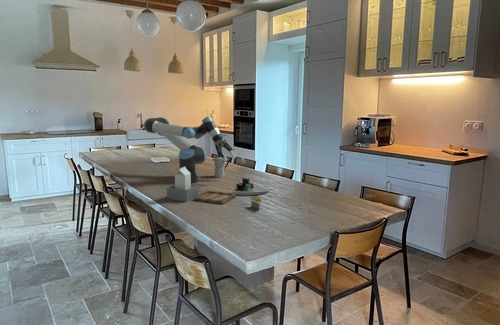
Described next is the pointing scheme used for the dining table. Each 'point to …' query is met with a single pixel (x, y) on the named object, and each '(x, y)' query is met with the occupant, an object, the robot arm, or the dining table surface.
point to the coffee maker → (219, 166)
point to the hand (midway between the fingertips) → (230, 159)
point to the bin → (182, 193)
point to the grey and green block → (255, 202)
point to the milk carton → (183, 179)
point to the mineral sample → (246, 188)
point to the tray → (215, 197)
